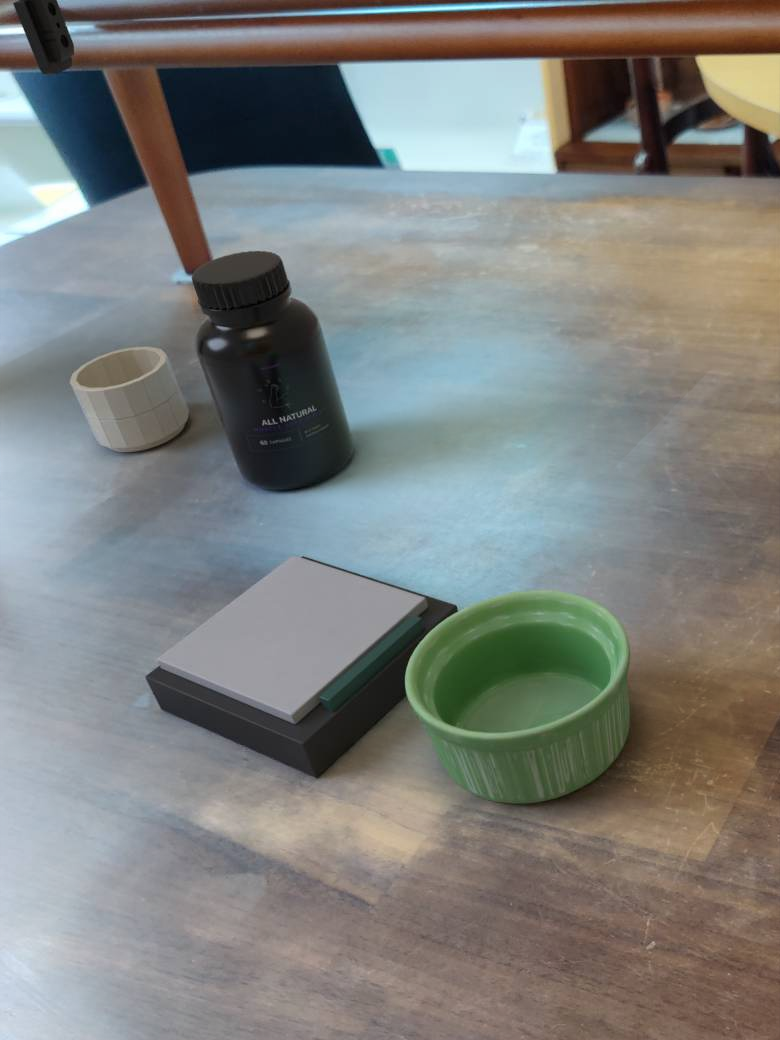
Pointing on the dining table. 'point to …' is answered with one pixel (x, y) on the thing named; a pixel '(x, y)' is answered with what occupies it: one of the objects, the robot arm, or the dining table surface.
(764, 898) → the dining table surface
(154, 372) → the cream bowl
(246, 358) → the supplement bottle
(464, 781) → the ramekin
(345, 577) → the kitchen scale
